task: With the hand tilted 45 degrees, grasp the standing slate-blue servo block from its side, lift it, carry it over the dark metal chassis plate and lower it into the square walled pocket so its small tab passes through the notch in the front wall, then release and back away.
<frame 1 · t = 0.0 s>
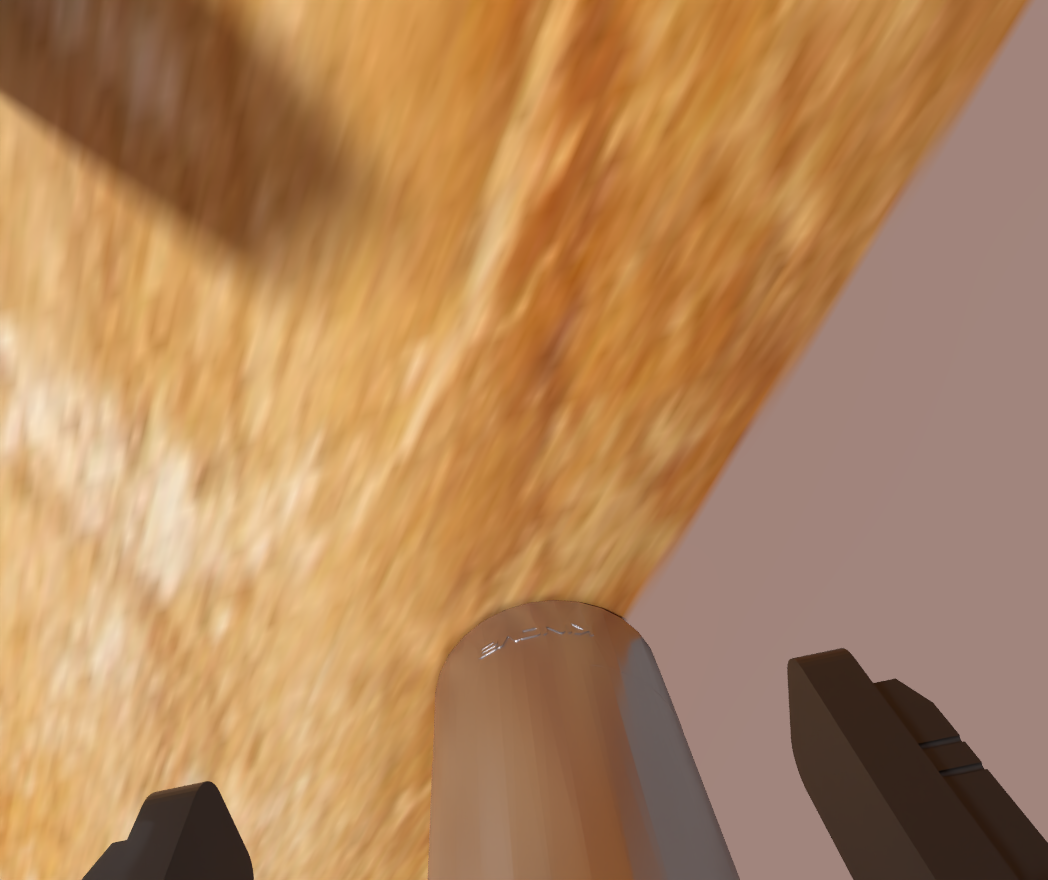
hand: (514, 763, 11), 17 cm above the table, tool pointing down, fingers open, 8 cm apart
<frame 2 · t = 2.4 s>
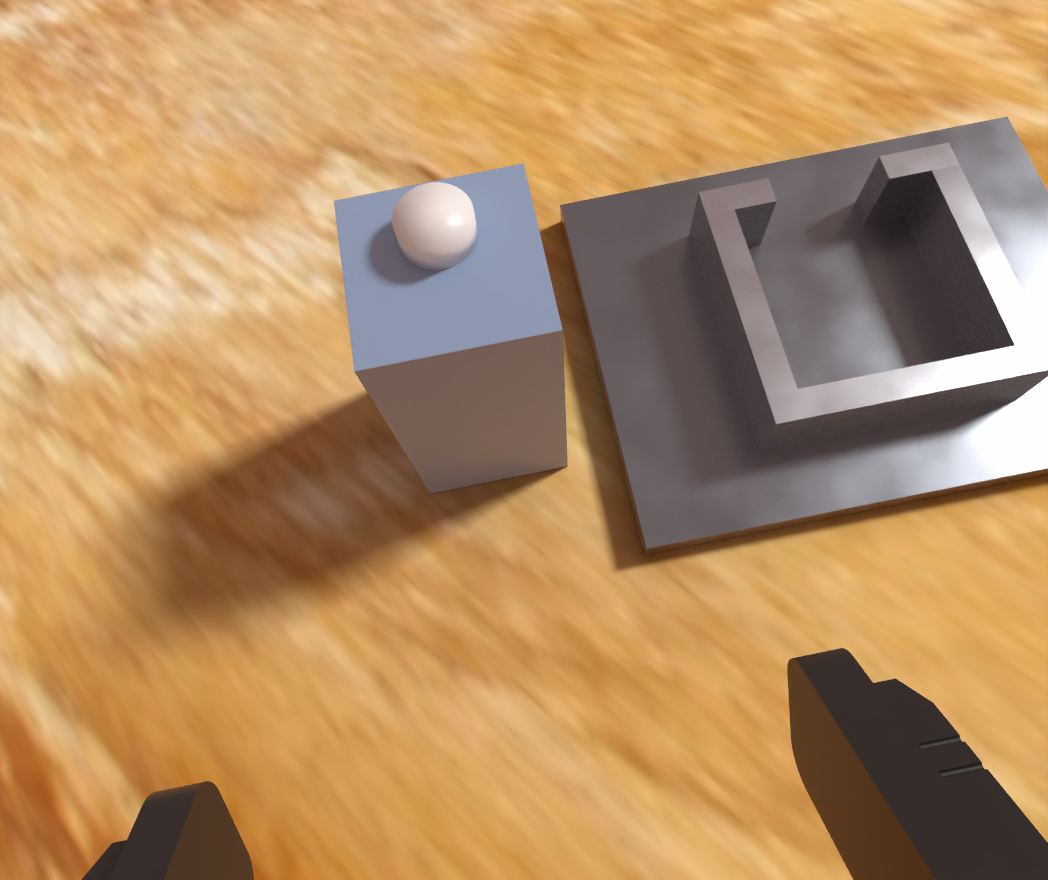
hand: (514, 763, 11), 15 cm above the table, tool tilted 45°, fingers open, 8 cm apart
servo block: (487, 416, 28), on the table
chassis plate: (835, 326, 29), on the table
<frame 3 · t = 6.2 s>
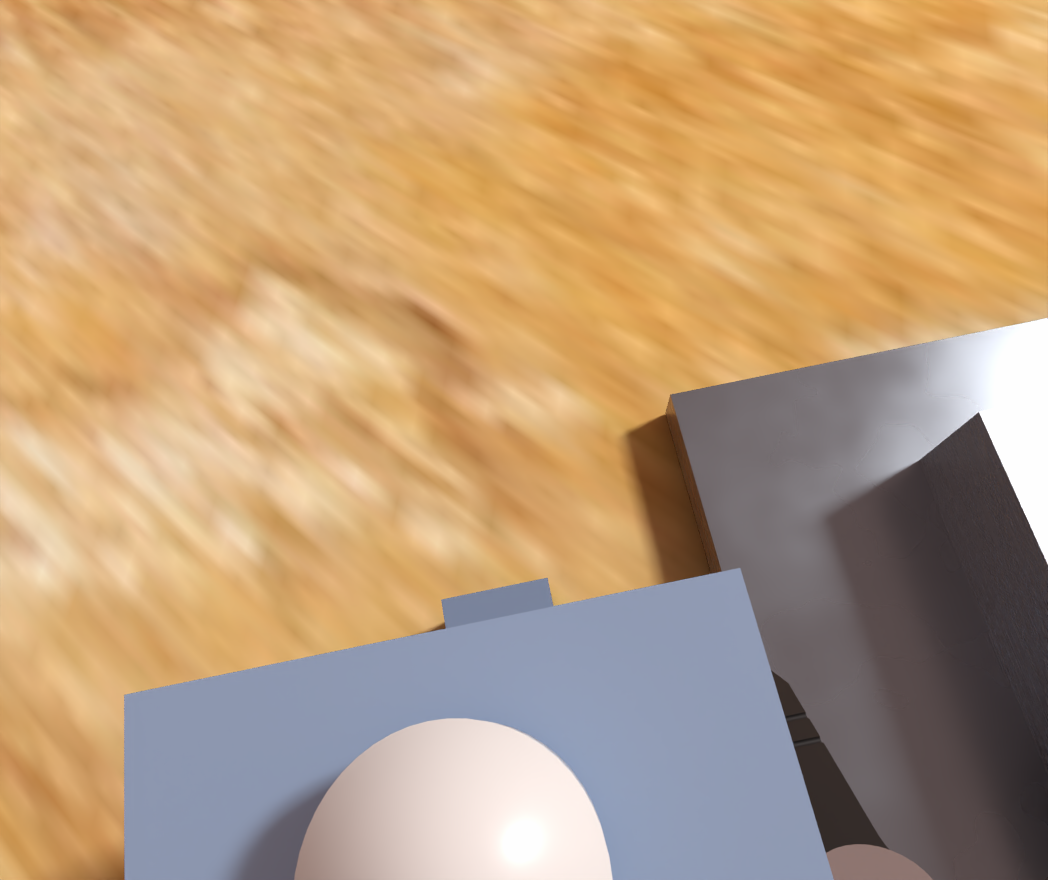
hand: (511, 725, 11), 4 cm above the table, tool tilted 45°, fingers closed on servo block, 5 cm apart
servo block: (545, 831, 15), on the table, touching gripper
when the fingers open (7 cm above the table, at t = 11.3 s): servo block drops 1 cm, resting on chassis plate.
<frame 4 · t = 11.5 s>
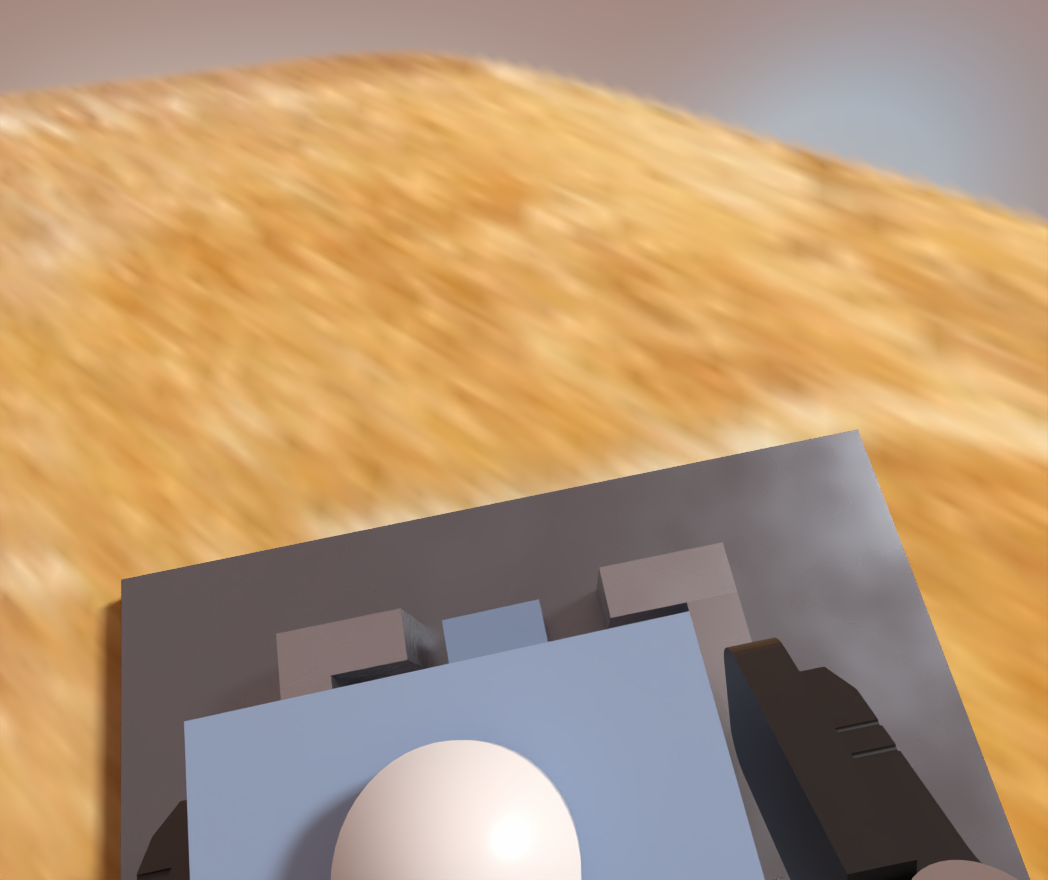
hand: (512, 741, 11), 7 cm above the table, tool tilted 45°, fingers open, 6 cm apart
servo block: (539, 831, 16), point 1 cm above the table, touching chassis plate
chassis plate: (551, 819, 17), on the table
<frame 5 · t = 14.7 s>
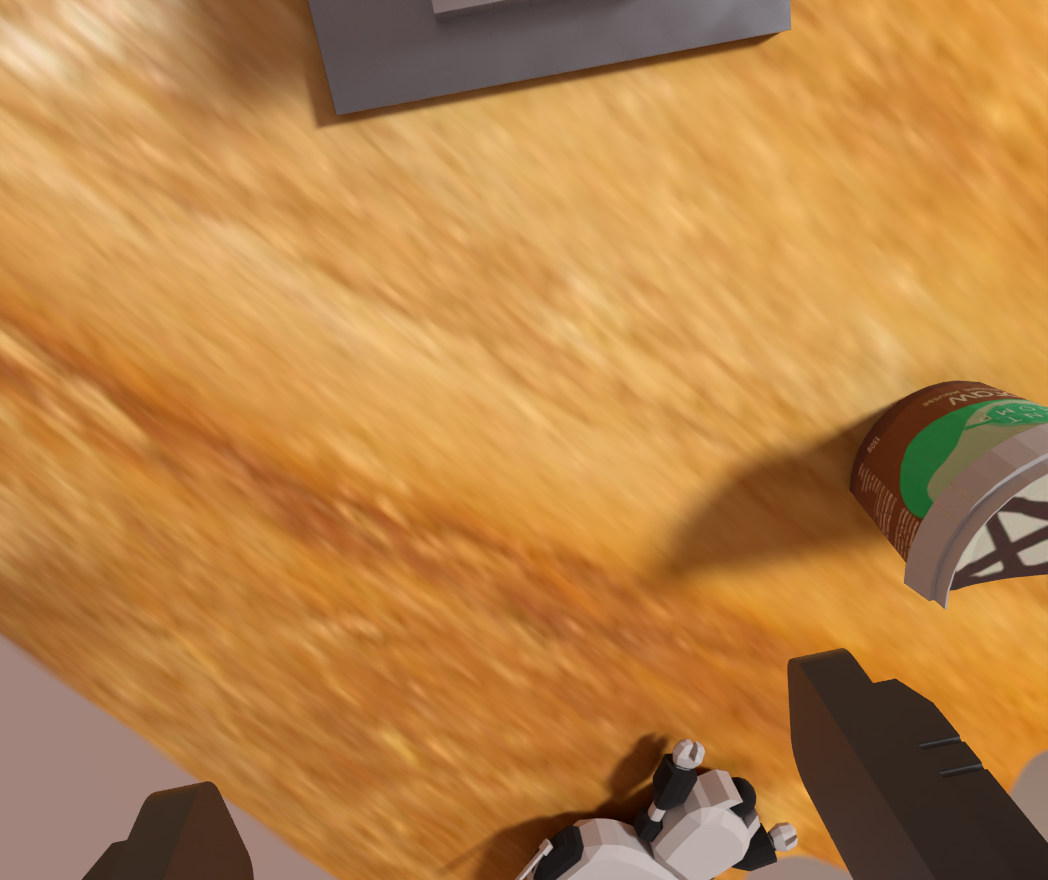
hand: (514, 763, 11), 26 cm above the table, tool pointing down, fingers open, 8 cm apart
food container: (939, 416, 38), on the table
robot toy: (643, 824, 48), on the table
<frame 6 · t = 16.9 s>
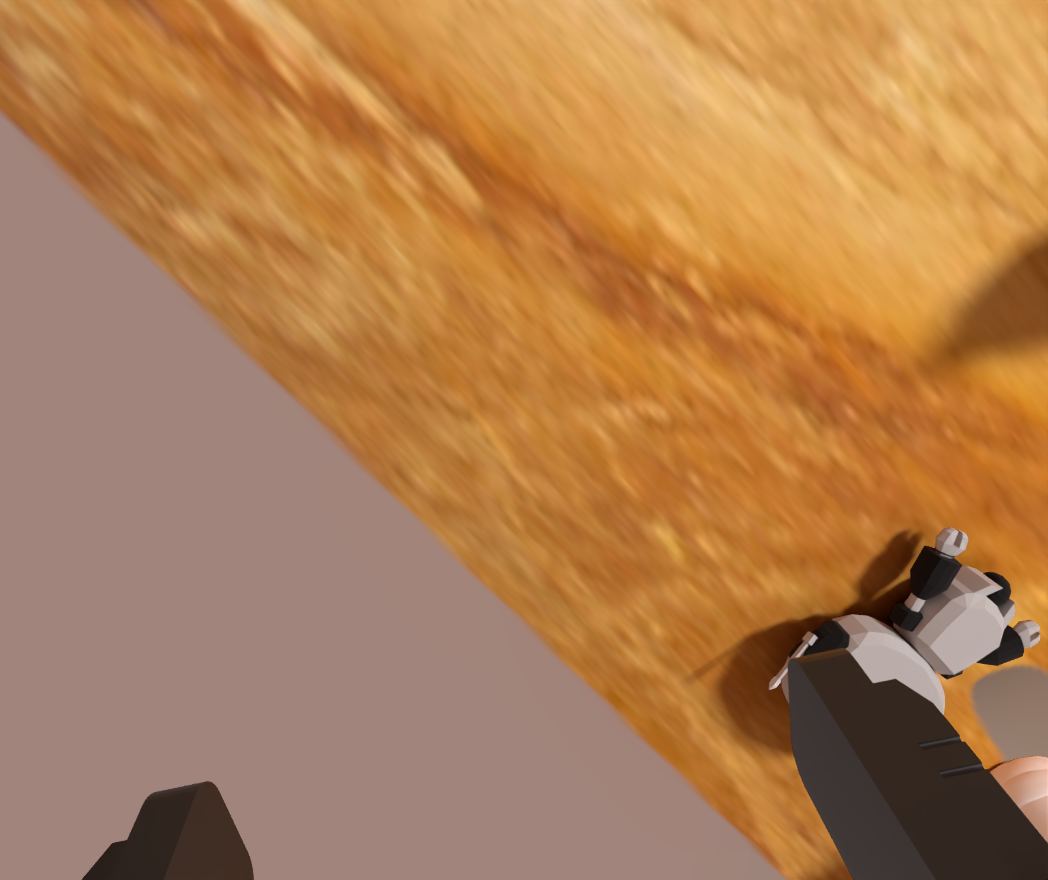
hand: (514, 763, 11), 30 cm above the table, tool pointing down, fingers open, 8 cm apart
bottle: (1014, 792, 56), on the table
robot toy: (881, 631, 50), on the table
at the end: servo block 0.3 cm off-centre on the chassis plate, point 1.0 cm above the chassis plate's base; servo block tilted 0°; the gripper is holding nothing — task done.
